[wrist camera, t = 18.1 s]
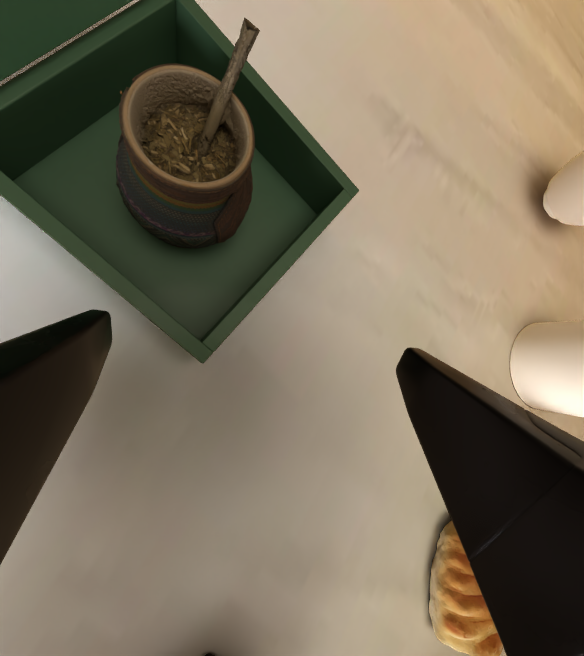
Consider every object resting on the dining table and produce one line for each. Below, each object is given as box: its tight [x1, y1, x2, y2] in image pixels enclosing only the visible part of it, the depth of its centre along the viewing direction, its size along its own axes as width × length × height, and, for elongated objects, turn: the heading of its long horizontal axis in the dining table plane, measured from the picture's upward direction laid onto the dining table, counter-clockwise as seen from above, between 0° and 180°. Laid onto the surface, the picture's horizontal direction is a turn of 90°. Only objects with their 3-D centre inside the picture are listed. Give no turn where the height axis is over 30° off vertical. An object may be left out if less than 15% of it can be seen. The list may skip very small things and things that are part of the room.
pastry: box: [429, 521, 503, 656], centre depth 25 cm, size 9×7×4 cm
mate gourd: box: [116, 18, 260, 248], centre depth 16 cm, size 7×8×10 cm
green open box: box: [0, 0, 359, 363], centre depth 19 cm, size 15×15×5 cm
